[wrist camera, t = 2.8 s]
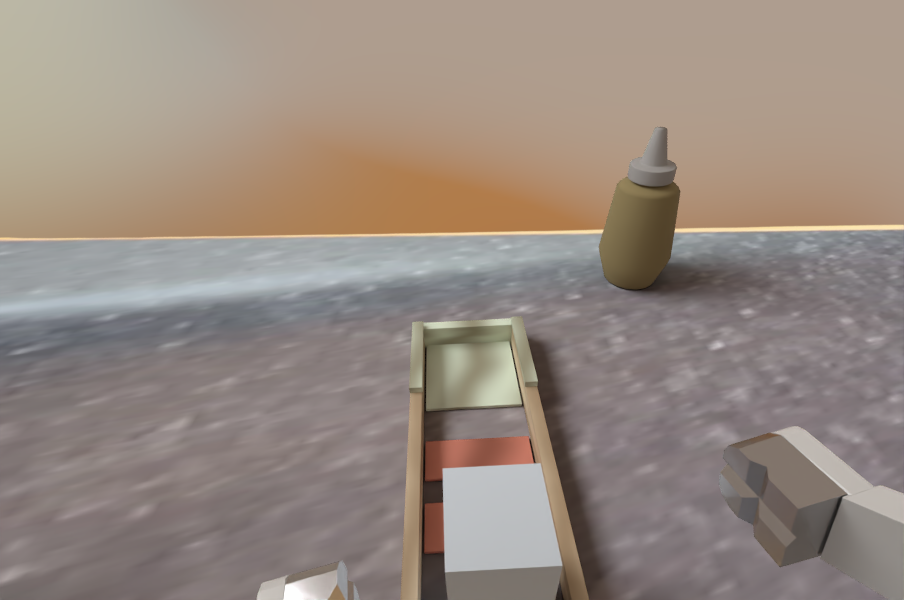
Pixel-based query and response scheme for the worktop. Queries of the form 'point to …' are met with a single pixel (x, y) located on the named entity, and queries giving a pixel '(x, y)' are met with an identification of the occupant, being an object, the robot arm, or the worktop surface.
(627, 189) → the squeeze bottle
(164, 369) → the worktop surface
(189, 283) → the worktop surface
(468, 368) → the channel
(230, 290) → the worktop surface
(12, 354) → the worktop surface
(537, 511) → the blue-grey block
